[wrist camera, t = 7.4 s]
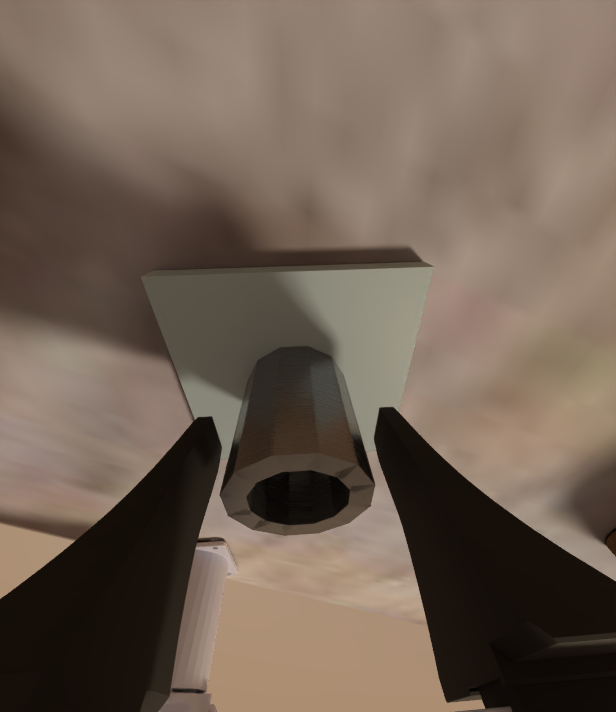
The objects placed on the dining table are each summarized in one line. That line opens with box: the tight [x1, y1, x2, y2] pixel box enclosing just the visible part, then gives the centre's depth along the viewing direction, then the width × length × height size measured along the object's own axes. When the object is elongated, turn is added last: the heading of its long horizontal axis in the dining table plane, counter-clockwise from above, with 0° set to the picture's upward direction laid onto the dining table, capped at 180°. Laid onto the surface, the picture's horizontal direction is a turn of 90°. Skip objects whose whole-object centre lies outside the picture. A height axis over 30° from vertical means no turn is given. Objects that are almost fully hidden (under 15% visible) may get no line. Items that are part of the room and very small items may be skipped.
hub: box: [220, 346, 375, 536], centre depth 11 cm, size 5×5×6 cm
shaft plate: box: [141, 262, 434, 460], centre depth 12 cm, size 12×12×4 cm
